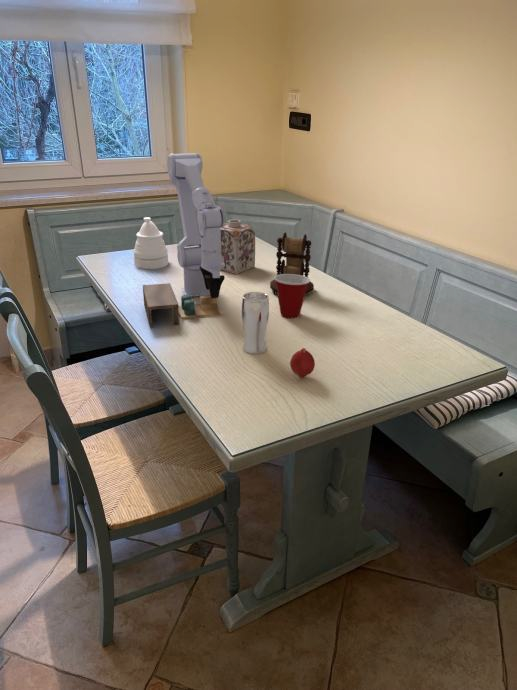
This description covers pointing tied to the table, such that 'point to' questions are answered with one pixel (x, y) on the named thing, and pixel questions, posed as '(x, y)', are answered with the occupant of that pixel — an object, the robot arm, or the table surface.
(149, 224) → the honey pot
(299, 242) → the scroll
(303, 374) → the onion
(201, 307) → the tray
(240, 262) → the decorative jar
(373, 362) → the table surface
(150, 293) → the wooden caddy
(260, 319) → the beer glass
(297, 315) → the plastic cup
